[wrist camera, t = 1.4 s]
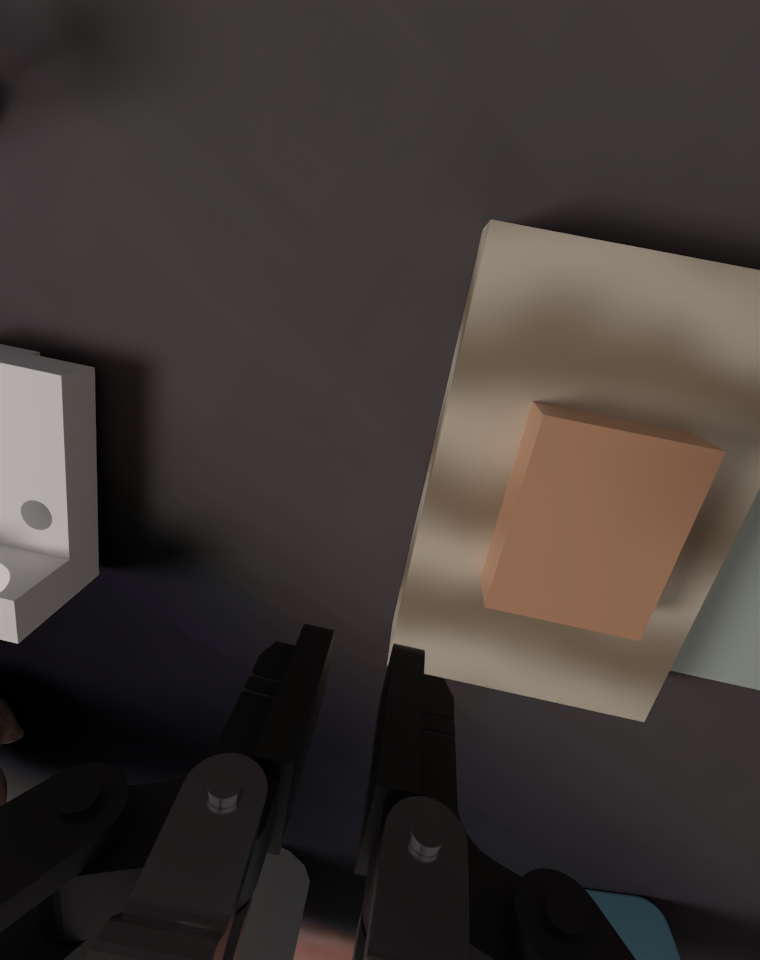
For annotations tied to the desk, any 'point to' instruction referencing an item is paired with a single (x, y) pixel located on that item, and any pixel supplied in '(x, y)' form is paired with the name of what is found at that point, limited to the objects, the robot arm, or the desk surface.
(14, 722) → the clay figurine
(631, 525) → the tile
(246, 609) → the desk surface
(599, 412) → the light wood flat block
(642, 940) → the data package
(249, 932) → the cup
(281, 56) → the desk surface
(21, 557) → the bracket
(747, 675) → the mat
